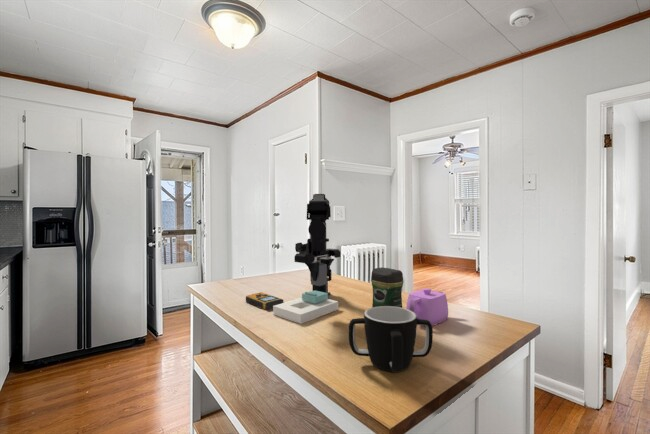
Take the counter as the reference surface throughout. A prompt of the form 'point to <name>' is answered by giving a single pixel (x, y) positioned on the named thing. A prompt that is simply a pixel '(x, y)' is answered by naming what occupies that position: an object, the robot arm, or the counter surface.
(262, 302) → the electronic device
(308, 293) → the block
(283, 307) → the socket plate
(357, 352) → the mug
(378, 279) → the coffee jar
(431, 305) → the teapot
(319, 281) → the plug
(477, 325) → the counter surface
